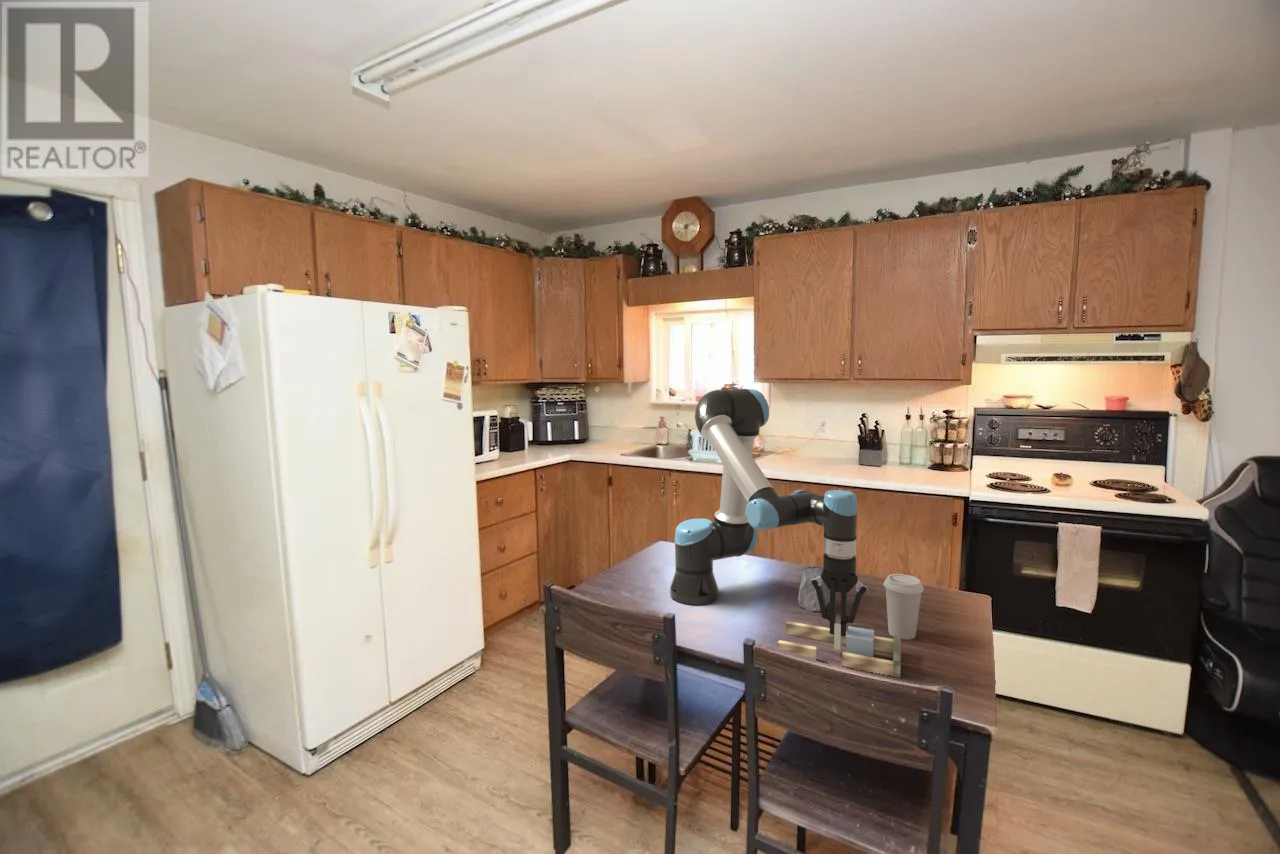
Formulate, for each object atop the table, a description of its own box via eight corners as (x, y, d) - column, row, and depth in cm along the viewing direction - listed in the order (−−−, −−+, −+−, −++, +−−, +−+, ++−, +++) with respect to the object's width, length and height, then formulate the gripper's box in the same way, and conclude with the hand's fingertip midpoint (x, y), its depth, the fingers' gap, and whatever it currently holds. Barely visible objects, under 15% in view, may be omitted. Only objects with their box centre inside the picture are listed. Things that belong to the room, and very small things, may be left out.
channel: (777, 654, 138) (777, 638, 138) (787, 631, 150) (787, 617, 149) (900, 678, 127) (900, 661, 126) (899, 651, 138) (900, 636, 138)
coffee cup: (875, 626, 152) (876, 573, 151) (908, 624, 153) (910, 571, 151) (894, 643, 143) (896, 586, 141) (929, 641, 143) (931, 585, 142)
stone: (804, 601, 173) (836, 597, 168) (799, 620, 165) (832, 616, 160) (791, 567, 172) (823, 562, 167) (785, 584, 163) (819, 579, 158)
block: (845, 660, 135) (846, 636, 134) (847, 648, 140) (848, 626, 140) (872, 665, 132) (873, 641, 132) (873, 653, 138) (874, 630, 137)
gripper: (809, 555, 135) (808, 648, 137) (867, 562, 130) (865, 659, 132) (814, 546, 142) (812, 635, 144) (869, 553, 136) (866, 645, 139)
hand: (837, 647), depth 138 cm, fingers closed
